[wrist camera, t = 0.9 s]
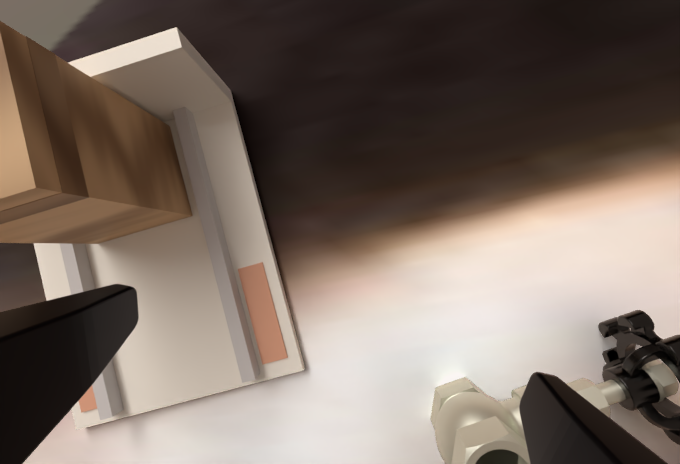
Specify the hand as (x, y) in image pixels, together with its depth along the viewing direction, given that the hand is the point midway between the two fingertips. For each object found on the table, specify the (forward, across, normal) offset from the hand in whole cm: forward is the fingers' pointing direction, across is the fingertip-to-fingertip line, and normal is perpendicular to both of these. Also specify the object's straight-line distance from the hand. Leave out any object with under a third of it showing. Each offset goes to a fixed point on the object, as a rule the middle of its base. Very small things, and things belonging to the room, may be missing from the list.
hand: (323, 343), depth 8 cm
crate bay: (+13, +13, +6) cm, 19 cm away
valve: (+12, -11, +9) cm, 19 cm away
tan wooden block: (+14, +15, +2) cm, 20 cm away
